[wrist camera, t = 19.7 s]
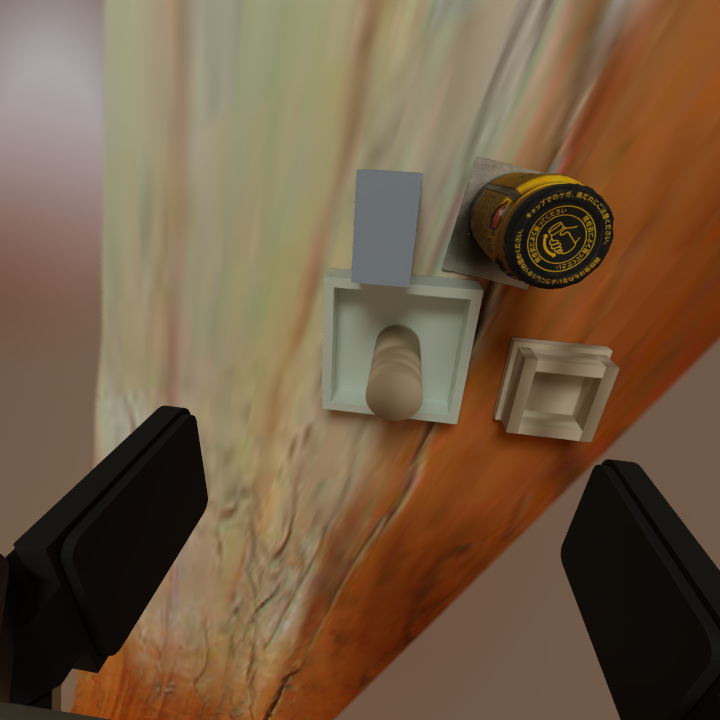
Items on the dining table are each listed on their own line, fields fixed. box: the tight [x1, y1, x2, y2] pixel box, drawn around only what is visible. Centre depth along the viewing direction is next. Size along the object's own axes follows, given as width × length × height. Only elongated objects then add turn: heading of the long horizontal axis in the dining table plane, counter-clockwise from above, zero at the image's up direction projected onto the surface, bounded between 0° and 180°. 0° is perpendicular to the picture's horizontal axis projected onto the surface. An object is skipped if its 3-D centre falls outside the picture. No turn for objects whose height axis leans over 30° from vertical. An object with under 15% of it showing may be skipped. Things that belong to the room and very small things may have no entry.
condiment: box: [442, 157, 614, 290], centre depth 26 cm, size 7×8×12 cm
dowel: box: [366, 325, 423, 421], centre depth 32 cm, size 4×4×9 cm
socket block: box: [493, 337, 620, 442], centre depth 35 cm, size 8×8×4 cm
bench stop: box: [351, 170, 423, 288], centre depth 29 cm, size 4×7×7 cm, turn 177°
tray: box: [322, 268, 484, 424], centre depth 35 cm, size 12×12×3 cm
